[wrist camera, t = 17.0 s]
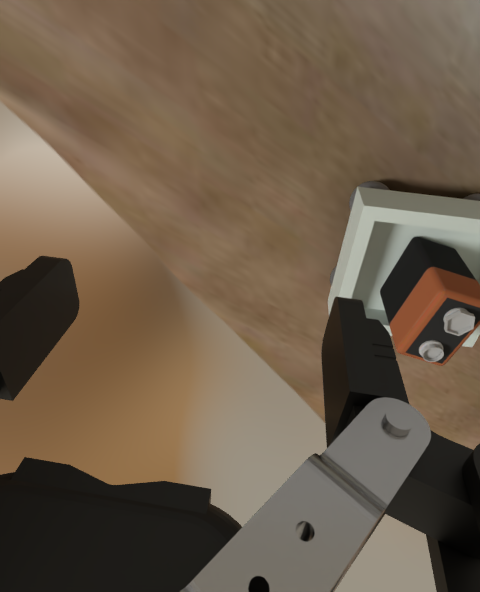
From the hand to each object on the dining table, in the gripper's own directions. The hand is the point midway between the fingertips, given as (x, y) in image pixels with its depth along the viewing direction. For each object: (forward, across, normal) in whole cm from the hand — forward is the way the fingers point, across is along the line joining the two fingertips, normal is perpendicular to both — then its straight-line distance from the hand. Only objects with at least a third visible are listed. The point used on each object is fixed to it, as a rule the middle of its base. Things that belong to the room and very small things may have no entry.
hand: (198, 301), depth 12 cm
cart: (+30, -16, +11) cm, 36 cm away
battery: (+24, -16, +11) cm, 31 cm away
